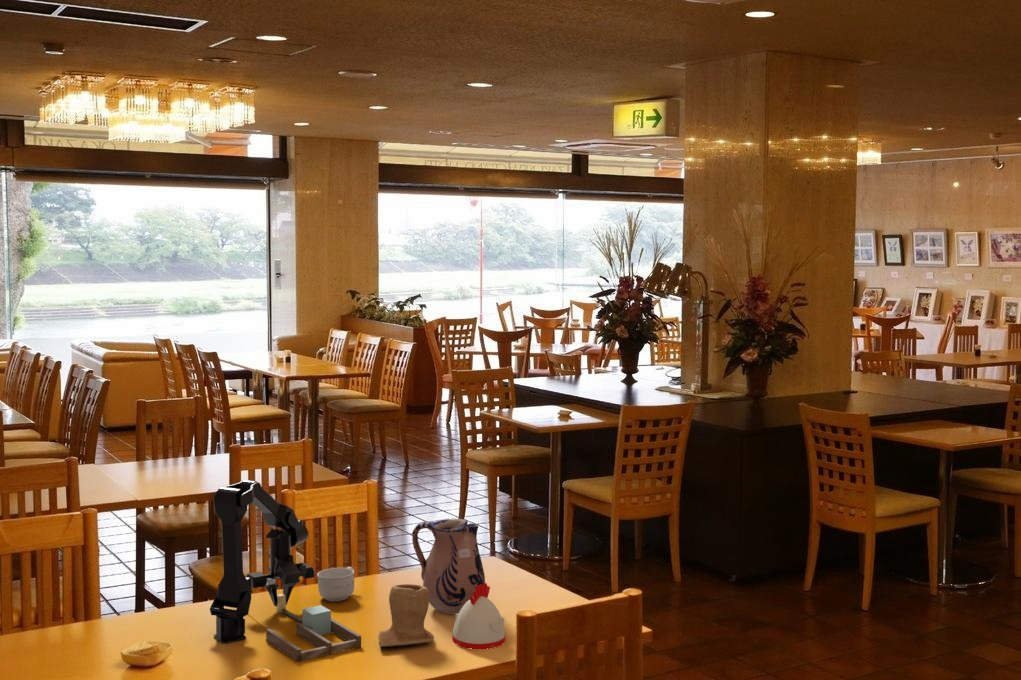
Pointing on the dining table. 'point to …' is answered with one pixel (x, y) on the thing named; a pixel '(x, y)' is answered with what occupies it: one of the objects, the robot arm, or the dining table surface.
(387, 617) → the dining table surface
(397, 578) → the dining table surface
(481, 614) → the kitchen timer
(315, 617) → the mallet
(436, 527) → the ceramic pitcher
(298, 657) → the lane rack
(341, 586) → the teacup
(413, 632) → the stone cup
